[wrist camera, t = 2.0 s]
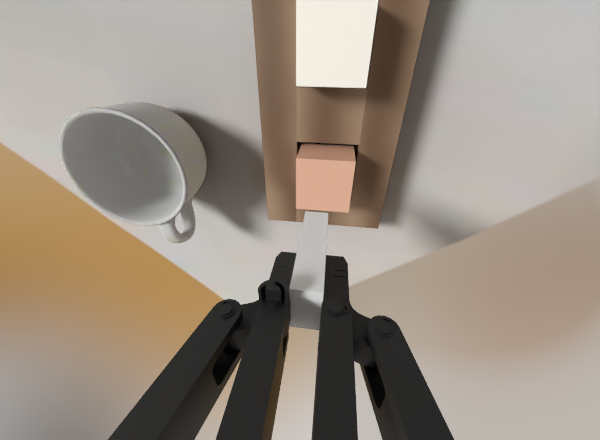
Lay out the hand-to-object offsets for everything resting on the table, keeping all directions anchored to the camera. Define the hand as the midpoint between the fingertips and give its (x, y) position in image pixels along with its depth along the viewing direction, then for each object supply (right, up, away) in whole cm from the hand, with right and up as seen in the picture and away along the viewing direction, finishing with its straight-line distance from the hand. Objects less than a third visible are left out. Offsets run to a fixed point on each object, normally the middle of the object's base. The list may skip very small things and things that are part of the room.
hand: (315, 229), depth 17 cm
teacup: (-15, +8, +12) cm, 21 cm away
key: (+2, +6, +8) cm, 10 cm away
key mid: (+2, +14, +2) cm, 14 cm away
